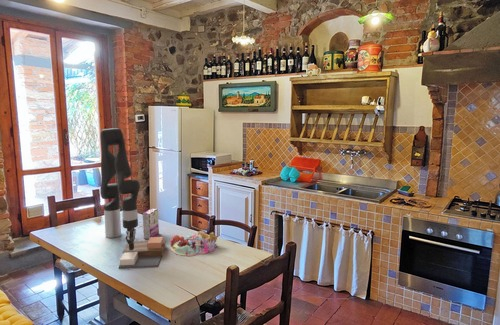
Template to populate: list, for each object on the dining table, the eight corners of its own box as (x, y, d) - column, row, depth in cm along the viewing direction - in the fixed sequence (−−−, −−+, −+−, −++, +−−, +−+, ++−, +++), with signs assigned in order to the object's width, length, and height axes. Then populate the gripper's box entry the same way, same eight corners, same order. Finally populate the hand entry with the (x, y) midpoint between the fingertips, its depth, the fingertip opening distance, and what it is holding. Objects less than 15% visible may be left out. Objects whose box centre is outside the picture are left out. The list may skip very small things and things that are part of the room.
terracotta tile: (150, 242, 190) (150, 237, 190) (162, 241, 191) (162, 236, 191) (147, 248, 181) (147, 243, 181) (160, 247, 182) (160, 242, 182)
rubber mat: (124, 259, 177) (123, 257, 177) (160, 257, 179) (160, 256, 179) (118, 268, 166) (118, 267, 166) (157, 266, 168) (157, 265, 168)
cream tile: (124, 258, 177) (123, 252, 176) (137, 257, 178) (137, 251, 177) (119, 265, 168) (119, 259, 167) (134, 264, 169) (134, 259, 168)
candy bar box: (152, 232, 217) (151, 208, 215) (159, 233, 216) (158, 208, 214) (143, 239, 207) (142, 213, 204) (150, 239, 206) (149, 213, 203)
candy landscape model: (195, 237, 210) (195, 223, 208) (224, 246, 196) (224, 231, 195) (164, 250, 189) (163, 235, 188) (194, 261, 176) (193, 244, 175)
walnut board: (129, 248, 192) (129, 241, 191) (165, 246, 194) (165, 240, 194) (123, 259, 177) (122, 252, 176) (161, 257, 179) (161, 250, 179)
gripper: (125, 214, 181) (127, 245, 183) (119, 221, 168) (121, 255, 170) (140, 213, 182) (141, 244, 184) (134, 221, 169) (136, 254, 171)
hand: (131, 249), depth 177 cm, fingers closed
